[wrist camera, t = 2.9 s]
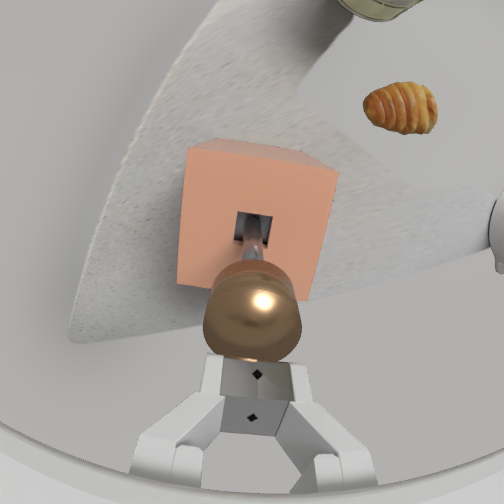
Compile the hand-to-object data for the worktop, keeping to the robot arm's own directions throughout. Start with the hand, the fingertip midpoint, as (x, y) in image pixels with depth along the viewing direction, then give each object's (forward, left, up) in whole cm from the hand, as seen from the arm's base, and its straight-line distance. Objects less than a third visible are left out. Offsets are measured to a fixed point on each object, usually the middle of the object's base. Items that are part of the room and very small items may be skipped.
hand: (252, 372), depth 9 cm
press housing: (0, 0, -29) cm, 29 cm away
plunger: (0, 0, -15) cm, 15 cm away
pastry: (-16, -13, -30) cm, 36 cm away
